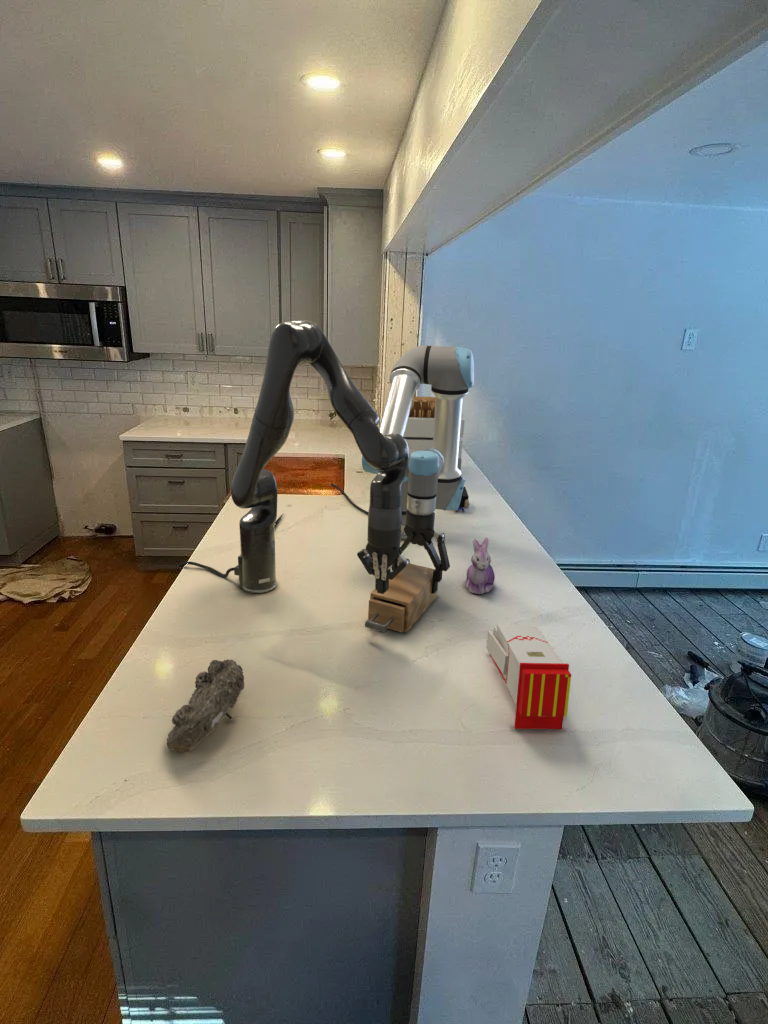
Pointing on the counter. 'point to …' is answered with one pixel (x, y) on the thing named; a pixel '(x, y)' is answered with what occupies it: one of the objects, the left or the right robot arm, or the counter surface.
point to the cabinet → (410, 592)
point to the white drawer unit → (425, 426)
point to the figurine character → (464, 500)
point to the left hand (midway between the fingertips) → (381, 592)
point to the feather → (278, 520)
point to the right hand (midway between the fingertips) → (415, 586)
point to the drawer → (385, 615)
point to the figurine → (480, 569)
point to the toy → (531, 675)
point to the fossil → (206, 705)
